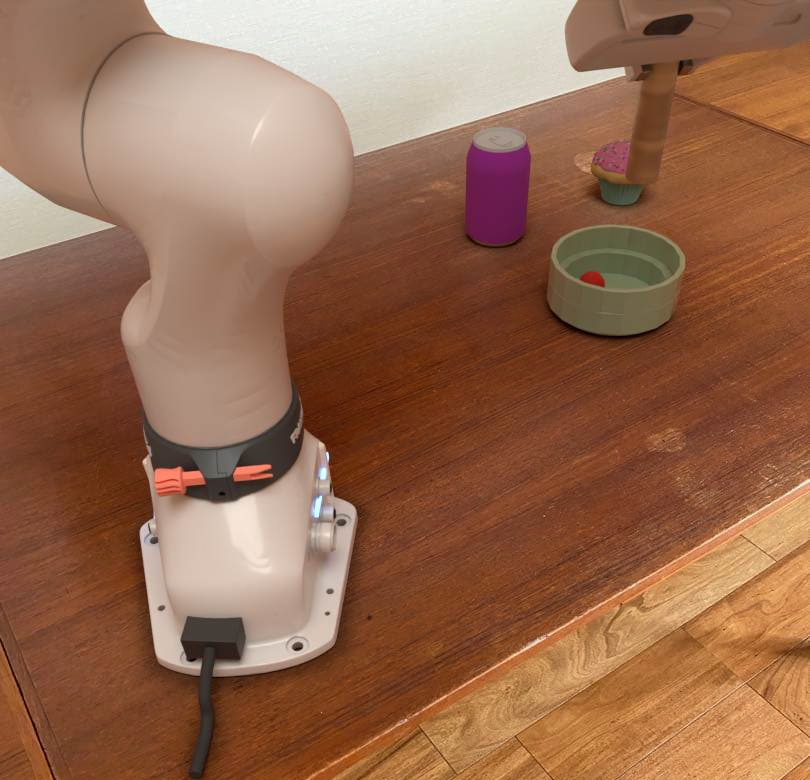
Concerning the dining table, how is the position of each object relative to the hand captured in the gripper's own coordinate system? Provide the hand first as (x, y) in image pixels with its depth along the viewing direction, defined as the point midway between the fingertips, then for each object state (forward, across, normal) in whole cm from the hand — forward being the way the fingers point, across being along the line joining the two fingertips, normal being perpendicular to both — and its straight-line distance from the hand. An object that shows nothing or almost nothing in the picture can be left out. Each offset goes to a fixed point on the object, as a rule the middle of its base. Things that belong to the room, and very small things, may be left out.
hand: (656, 70), depth 74 cm
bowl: (+23, -2, +15) cm, 27 cm away
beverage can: (+36, +6, +1) cm, 37 cm away
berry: (+22, 0, +12) cm, 25 cm away
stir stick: (+6, 0, +7) cm, 9 cm away
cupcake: (+40, -13, -2) cm, 42 cm away
